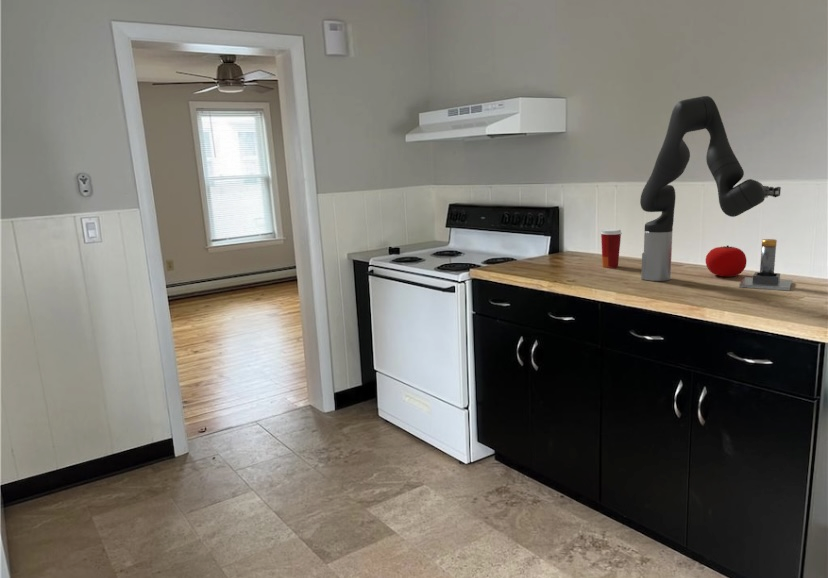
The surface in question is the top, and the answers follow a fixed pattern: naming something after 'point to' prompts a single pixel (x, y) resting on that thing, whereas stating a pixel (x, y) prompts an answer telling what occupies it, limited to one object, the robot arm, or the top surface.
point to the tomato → (726, 261)
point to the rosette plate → (766, 282)
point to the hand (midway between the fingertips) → (754, 190)
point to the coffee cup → (610, 247)
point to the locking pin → (768, 257)
